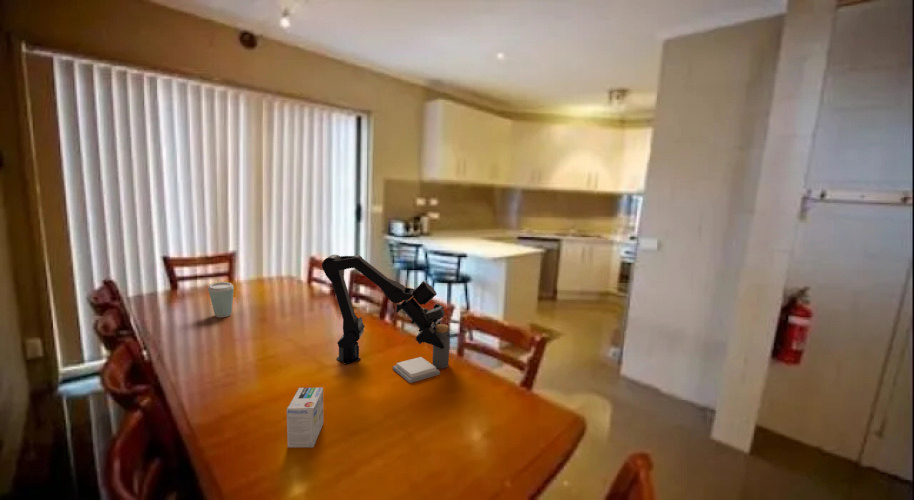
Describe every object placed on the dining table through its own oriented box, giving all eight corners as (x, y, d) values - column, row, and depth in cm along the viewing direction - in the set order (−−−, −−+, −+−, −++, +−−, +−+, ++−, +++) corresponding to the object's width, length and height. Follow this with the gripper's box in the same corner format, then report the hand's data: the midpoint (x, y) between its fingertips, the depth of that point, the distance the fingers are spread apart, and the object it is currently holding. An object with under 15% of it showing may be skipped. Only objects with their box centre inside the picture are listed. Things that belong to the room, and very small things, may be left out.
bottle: (446, 369, 149) (448, 329, 147) (430, 367, 151) (431, 328, 148) (449, 363, 155) (451, 324, 153) (434, 361, 156) (436, 322, 154)
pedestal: (410, 383, 139) (410, 376, 138) (392, 369, 148) (392, 362, 148) (439, 374, 146) (440, 367, 145) (421, 361, 155) (421, 355, 155)
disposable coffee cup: (240, 315, 196) (238, 284, 194) (217, 321, 187) (215, 288, 185) (227, 310, 202) (226, 280, 199) (204, 316, 193) (202, 284, 190)
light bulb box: (299, 423, 114) (298, 386, 112) (324, 423, 114) (323, 386, 113) (286, 448, 103) (285, 408, 102) (314, 448, 104) (313, 408, 102)
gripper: (426, 306, 140) (457, 341, 140) (436, 292, 158) (464, 322, 159) (403, 326, 142) (433, 360, 143) (416, 310, 161) (443, 340, 161)
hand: (444, 344), depth 151 cm, fingers closed on bottle, 6 cm apart
